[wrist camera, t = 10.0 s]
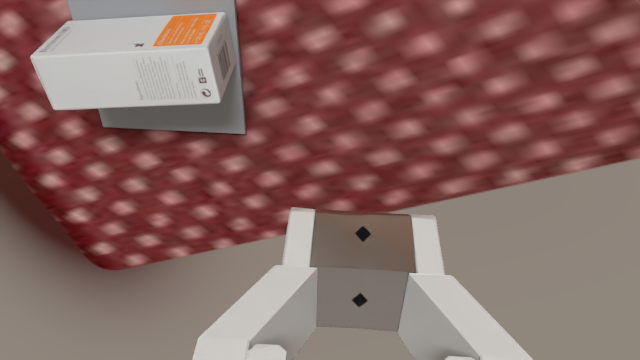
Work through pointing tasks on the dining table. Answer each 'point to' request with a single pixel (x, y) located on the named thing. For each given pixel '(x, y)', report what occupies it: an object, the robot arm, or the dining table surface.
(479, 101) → the dining table surface
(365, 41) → the dining table surface
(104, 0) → the mat
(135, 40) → the skincare box
